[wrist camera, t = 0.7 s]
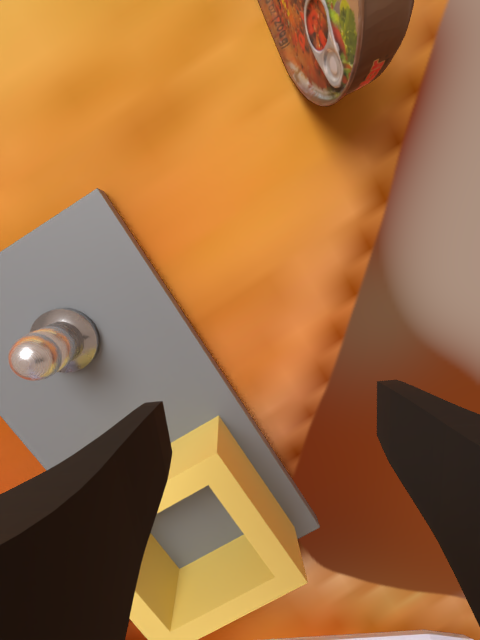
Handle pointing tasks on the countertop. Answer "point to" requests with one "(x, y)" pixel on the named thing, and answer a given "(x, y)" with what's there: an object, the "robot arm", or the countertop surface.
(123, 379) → the keeper board
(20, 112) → the countertop surface
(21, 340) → the metal drawer knob
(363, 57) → the tin
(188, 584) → the link
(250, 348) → the countertop surface
